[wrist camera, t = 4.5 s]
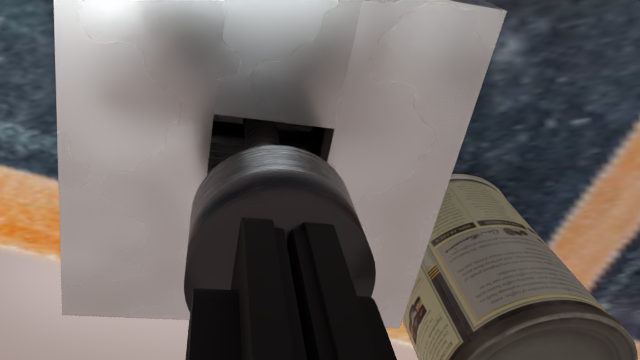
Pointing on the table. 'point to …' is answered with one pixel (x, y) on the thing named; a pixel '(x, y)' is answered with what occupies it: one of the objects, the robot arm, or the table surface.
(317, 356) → the robot arm
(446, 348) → the coffee can
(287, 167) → the plunger
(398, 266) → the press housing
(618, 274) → the table surface
